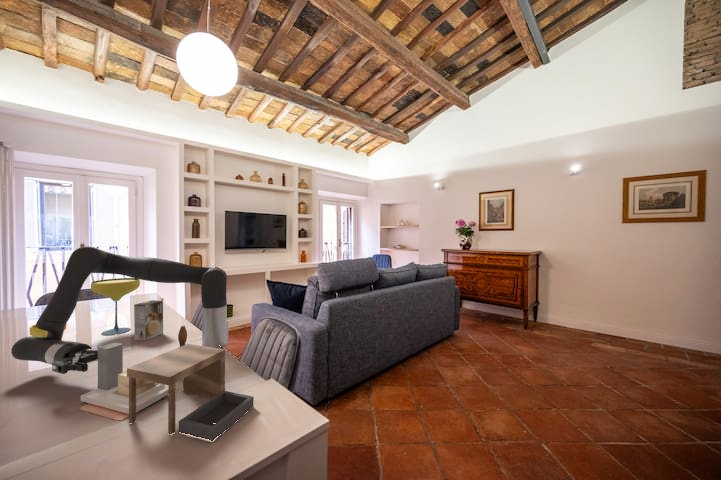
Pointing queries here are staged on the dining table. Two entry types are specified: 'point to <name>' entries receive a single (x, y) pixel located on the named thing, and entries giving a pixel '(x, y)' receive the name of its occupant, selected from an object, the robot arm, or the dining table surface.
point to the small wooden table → (180, 375)
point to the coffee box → (148, 319)
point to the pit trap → (216, 415)
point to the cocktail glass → (115, 295)
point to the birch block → (140, 385)
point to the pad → (105, 411)
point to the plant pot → (40, 332)
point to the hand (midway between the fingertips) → (103, 361)
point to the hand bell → (182, 336)
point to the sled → (108, 383)
